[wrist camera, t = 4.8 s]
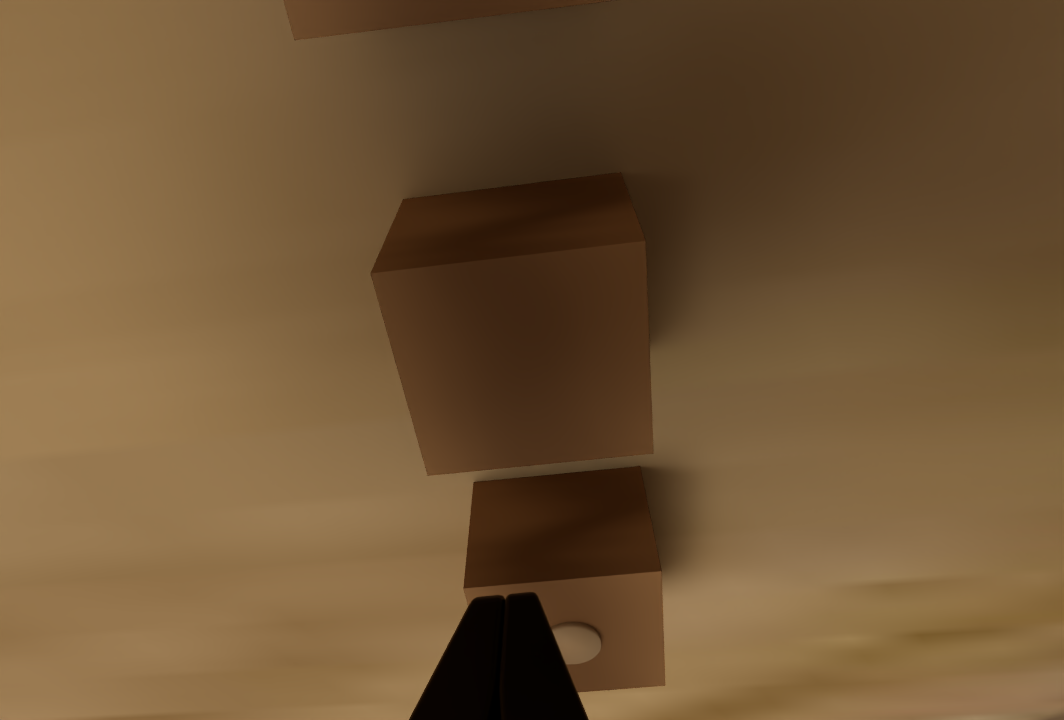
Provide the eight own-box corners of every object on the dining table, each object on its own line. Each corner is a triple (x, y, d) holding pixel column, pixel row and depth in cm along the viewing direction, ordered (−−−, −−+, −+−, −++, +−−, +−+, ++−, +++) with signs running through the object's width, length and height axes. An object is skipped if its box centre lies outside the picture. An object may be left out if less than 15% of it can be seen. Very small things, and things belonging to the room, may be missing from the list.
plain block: (619, 170, 15) (645, 240, 12) (630, 354, 18) (653, 453, 15) (403, 197, 16) (370, 273, 12) (445, 373, 18) (427, 475, 15)
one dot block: (639, 463, 20) (662, 577, 17) (645, 573, 23) (666, 692, 19) (473, 479, 21) (462, 594, 17) (498, 585, 23) (493, 705, 20)
